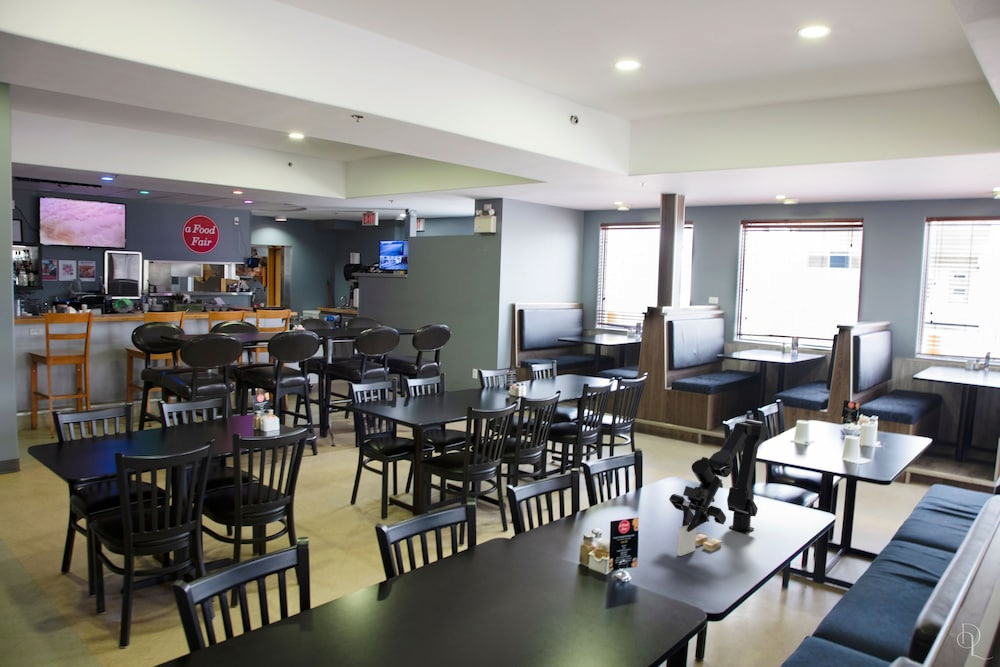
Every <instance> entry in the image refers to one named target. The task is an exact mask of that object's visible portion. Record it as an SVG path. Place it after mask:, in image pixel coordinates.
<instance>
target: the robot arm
mask: <svg viewBox="0 0 1000 667" xmlns="http://www.w3.org/2000/svg"><path fill="white" fill-rule="evenodd" d="M766 424H767V423H765V422H764V421H759V420H753V419H745V421H738V422H735V423H734V425H733V430H732V431H731V433H730V435H729V436H728V437H727V439H726V441H725V442H724V444H723V445H722V447H721V448H720V450H718V451H715V452H714V453H713V454H712V455H711V456H710V458H708V457H707V456H706V457H705V456H702V457H701V459H697V460H696V461H694V462H692V464H691V471H692V472H693V474H694V476H695V477H696V479H697V481H699V483H700V484H699V486H695V487H691V486H688V485H686V486H685V487H684V491H683V494H682V495H679V494H677V493H672V494H671V495H670V497H669V499H668V500H669V502H670V504H672V506H673V507H674V508H675V509H676V510H679V511H682V512H683V517H682V525H681V527H682V526H686V525H689V526H688V528H687V531H688V532H690V531H692V530H693V529H695V528H696V527H697V528H698V527H699V526H701V525H703V524H704V523H709V522H710V518H711V517H713V518H714V519H713V520H714V521H715V523H717V524H720V525H725V522H726V520H727V516H726V514H725V513H724V512H723V510H722V509H721V508H720V507H717V506H715V505H711V504H712V503H715V496H716V495H717V494H716V493H717V492H718V490H719V488H721V489H723V487H724V484H723V480H722V479H720V478H719V477H722V478H728V477H729V476H730V475H731V473H732V470H733V469H734V468H733V467H734V462H733V460H734V458H735V457H736V455H737V453H738V452H739V450H740V449H741V448H742V445H743V449H742V453H741V458H740V464H739V467H738V468H739V469H738V474H737V479H736V483H735V484H734V485H733V486H731V487H729V491H728V494H727V495H728V496H727V498H726V503H727V508H728V509H727V510H728V511H731V512H733V519H732V525H730V526H728V528H729V529H730V528H731V530H733V529H734V531H736V530H738V531H737V532H739V531H740V533H742V532H743V534H747V533H750V532H752V531H754V530H755V528H754V527H752V526H751V524H752V523H751V521H752V520H751V519H752V517H756V516H757V514H758V509H759V508H758V506H757V504H756V503H755V500H754V499H755V495H754V491H753V489H752V481H753V478H754V471H755V466H756V460H757V456H758V450H759V446H761V444H762V443H763V442H765V439H766V436H767V435H768V432H769V428H768V426H767V425H766ZM684 496H685V497H687V499H688V500H686V499H685V497H684ZM693 511H694V513H693ZM753 529H754V530H753ZM751 530H752V531H751ZM749 531H750V532H749ZM746 532H747V533H746Z"/></svg>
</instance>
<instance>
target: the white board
mask: <svg viewBox="0 0 1000 667" xmlns="http://www.w3.org/2000/svg"><path fill="white" fill-rule="evenodd" d="M688 526H689V525H686V526H682V525H681V526H680V527H678V538H677V540H678V541H677V556H679V557H680V556H681V557H682V556H685V555H687V554H690V553H693V552H695V551H696V547H697V546H696V535H697V531H698V530H697V529H698V527H696V528H695V529H693V530H692V531H690V532H688V531H687V528H688Z"/></svg>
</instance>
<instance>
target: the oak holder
mask: <svg viewBox="0 0 1000 667" xmlns="http://www.w3.org/2000/svg"><path fill="white" fill-rule="evenodd" d="M708 538H709V536H708V535H705V534H702V533H699V534H698V533H697V534H696V546H695V547H699V546H701V545H702V549H703V550H706V551H709V552H713V551H716V550H718V549H720V548H721V547H722V540H719V539H716V538H711V539H709V540H708Z"/></svg>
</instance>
